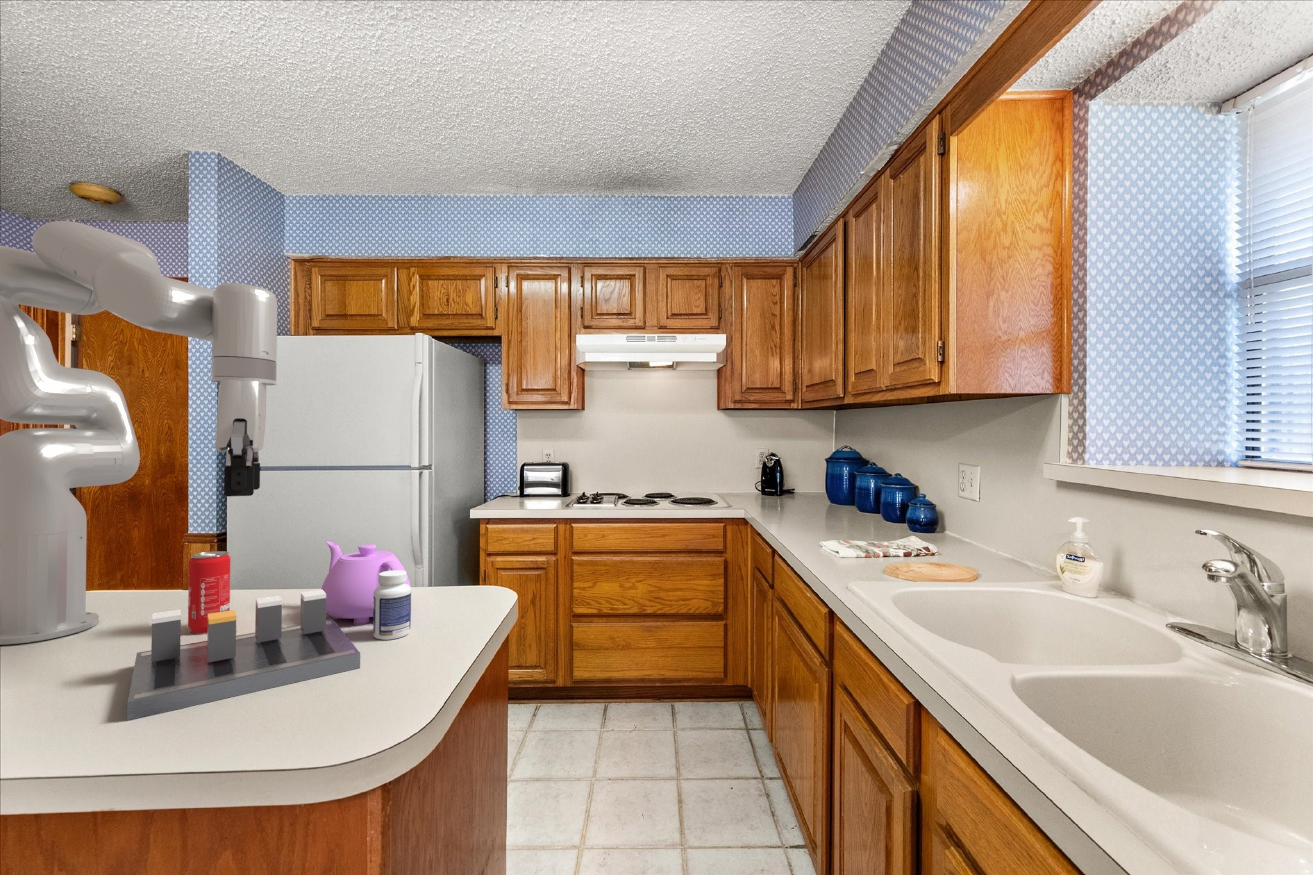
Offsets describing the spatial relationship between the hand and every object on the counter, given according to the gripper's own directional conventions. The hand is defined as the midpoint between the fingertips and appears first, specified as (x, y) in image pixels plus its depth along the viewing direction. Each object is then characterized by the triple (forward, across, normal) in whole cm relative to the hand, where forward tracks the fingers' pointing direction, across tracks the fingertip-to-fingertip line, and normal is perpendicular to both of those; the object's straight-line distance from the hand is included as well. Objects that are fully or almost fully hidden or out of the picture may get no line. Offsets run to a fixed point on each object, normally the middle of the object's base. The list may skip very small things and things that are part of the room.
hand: (243, 492), depth 82 cm
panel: (+23, +7, +2) cm, 24 cm away
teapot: (+23, -11, +16) cm, 30 cm away
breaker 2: (+20, +3, +3) cm, 21 cm away
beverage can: (+23, -14, -5) cm, 27 cm away
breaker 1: (+20, +5, -8) cm, 22 cm away
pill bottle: (+23, +2, +20) cm, 30 cm away
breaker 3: (+20, +2, +9) cm, 22 cm away
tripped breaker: (+20, +8, -1) cm, 22 cm away
